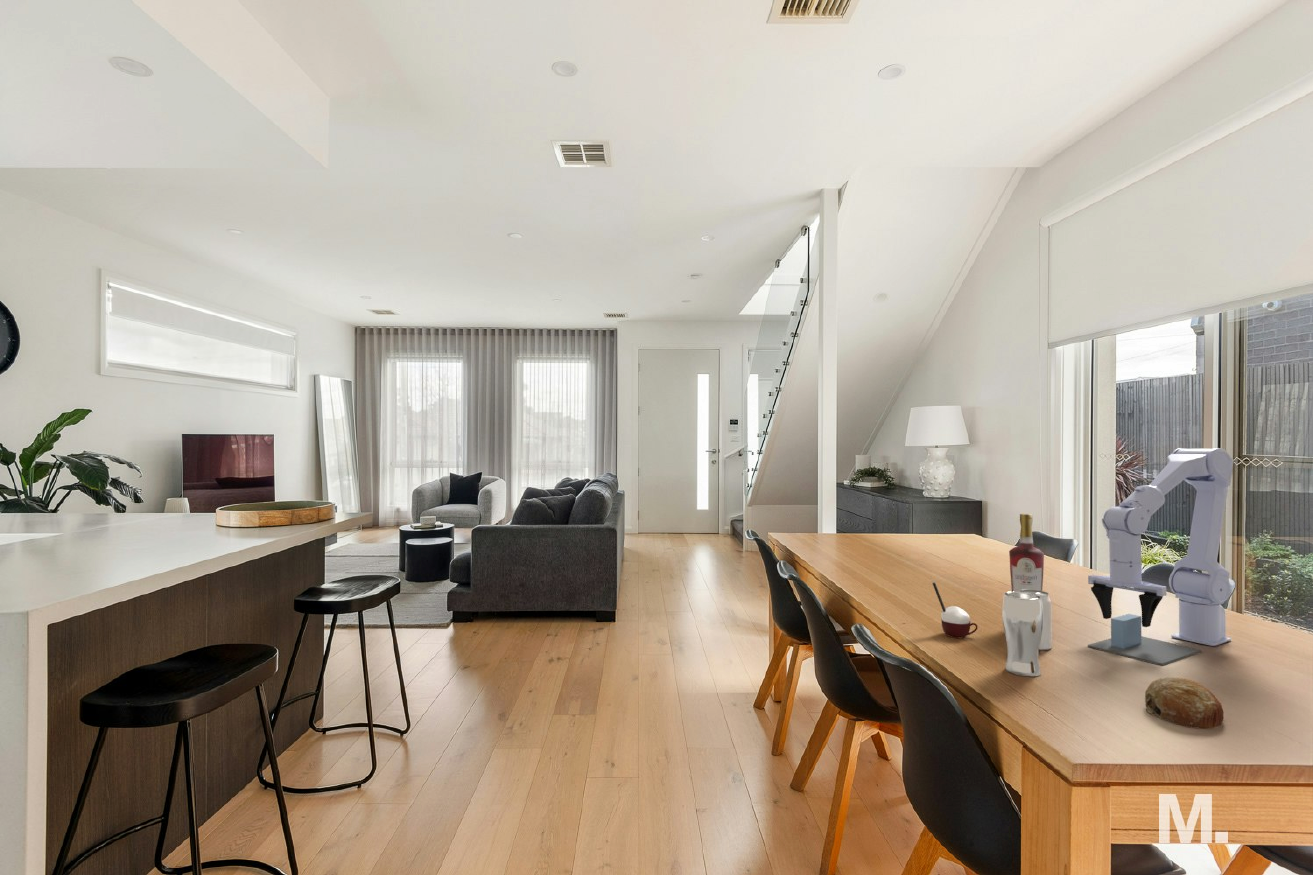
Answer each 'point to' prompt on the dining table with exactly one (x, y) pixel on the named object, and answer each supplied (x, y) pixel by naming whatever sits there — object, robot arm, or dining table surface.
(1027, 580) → the liquor
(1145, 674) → the dining table surface
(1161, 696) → the bread roll
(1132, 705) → the dining table surface
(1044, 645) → the can
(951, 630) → the cocoa
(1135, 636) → the block
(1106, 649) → the mat
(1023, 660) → the beer glass
